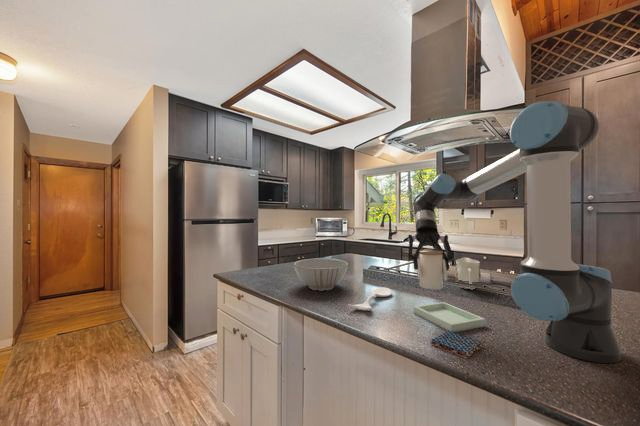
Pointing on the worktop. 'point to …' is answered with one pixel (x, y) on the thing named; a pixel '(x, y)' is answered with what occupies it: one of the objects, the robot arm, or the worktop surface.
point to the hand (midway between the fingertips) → (432, 277)
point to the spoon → (376, 292)
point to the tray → (449, 317)
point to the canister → (431, 268)
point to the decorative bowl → (321, 272)
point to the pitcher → (467, 270)
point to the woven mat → (456, 344)
